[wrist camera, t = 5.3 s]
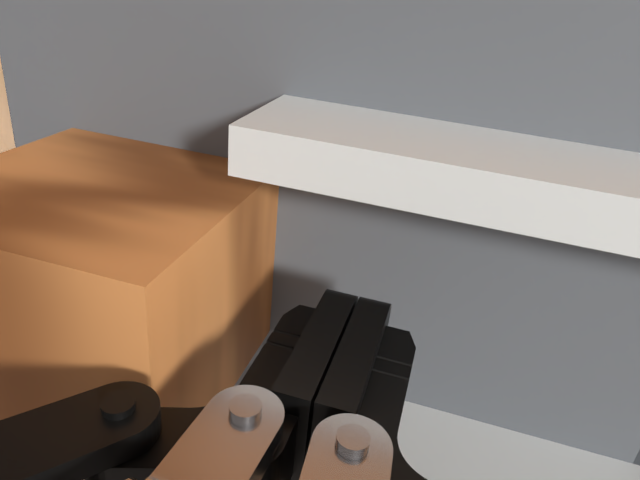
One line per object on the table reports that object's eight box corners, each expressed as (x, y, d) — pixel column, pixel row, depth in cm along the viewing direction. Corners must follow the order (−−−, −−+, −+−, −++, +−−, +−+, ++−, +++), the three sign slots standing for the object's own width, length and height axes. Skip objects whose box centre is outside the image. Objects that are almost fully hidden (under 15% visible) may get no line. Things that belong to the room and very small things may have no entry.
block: (280, 168, 14) (144, 287, 8) (269, 330, 16) (158, 503, 11) (72, 127, 15) (-158, 209, 10) (90, 284, 17) (-88, 417, 12)
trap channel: (1180, 7, 9) (1641, 27, 5) (743, 585, 16) (812, 759, 13) (11, -102, 14) (-161, -129, 10) (80, 381, 21) (-7, 465, 18)
